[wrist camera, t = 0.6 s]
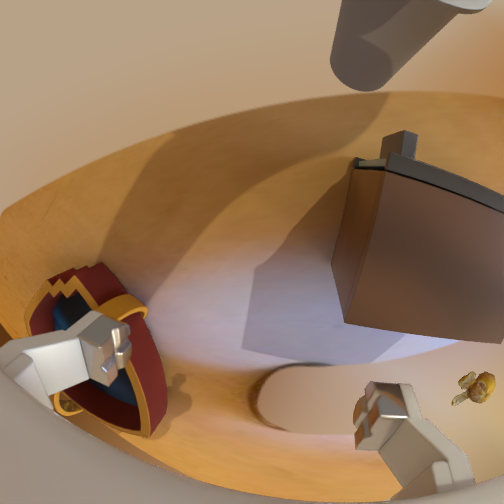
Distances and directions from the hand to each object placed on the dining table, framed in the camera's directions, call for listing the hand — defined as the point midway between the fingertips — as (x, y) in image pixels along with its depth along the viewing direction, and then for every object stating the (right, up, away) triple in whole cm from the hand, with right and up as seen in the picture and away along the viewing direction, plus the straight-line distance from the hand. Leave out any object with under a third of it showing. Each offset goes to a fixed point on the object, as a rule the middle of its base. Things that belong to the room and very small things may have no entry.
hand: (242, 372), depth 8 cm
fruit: (+38, -18, +25) cm, 49 cm away
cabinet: (+22, +6, +20) cm, 30 cm away
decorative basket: (-25, -13, +35) cm, 45 cm away
